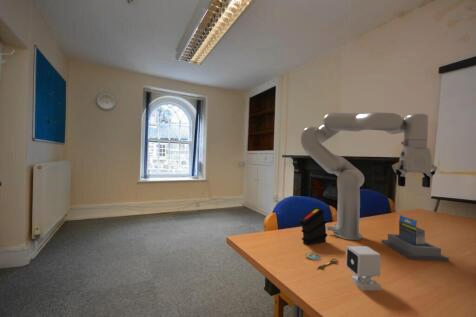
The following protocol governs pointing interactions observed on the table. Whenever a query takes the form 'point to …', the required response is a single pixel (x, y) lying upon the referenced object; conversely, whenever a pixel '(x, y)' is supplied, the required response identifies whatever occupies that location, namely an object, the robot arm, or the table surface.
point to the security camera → (363, 266)
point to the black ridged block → (313, 227)
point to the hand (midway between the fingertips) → (413, 186)
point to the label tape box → (411, 232)
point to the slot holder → (414, 249)
